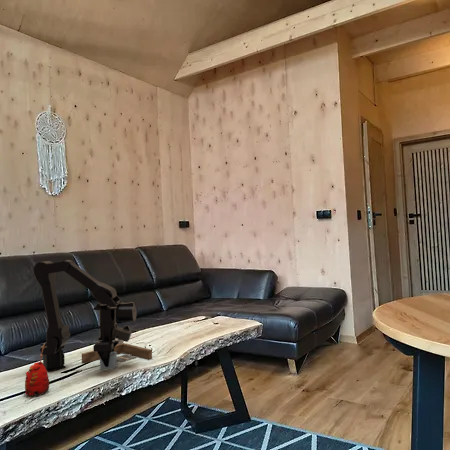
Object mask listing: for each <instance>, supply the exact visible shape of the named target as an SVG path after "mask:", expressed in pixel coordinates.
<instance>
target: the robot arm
mask: <svg viewBox="0 0 450 450" xmlns="http://www.w3.org/2000/svg"><path fill="white" fill-rule="evenodd" d="M32 271H33V275H34V278H35V280H36V281H37V283H38V284H39V286H40V288H41V293H42V299H43V304H44V309H45V313H46V319H47V325H48V326H47V329H46V338H45V339H46V342H45V343H46V344H45V343H44V344H45V346H44V347H45V348H44V349H43V352H42V347H40V348H39V352H40V355H41V354H42V355H43V357H42V363H43V365H44V366H45V368H46V370H47V373H48V372H53V371H57V370H60V369H64V368H67V367H66V365H65V364H66V363H65V353H64V350H63V349H64V348H65V346H66V344H67V343H68V342H69V341H70V336H71V335H72V333H70V326H69V324H64V322H63V321H62V316H61V311H60V305H59V301H58V295H57V290H56V289H57V288H56V281H57V280H56V279H57V273H59V272H64V273H66V275H67V274H68V275H69V276H70V277H71V278H73V279H74V280H76V281H77V283H79V284H80V285H82V286H83V287H85V288H86V289H87V290H88V291H89V293H91V295H92V296H93V298H94V299H95V300H96V301H97V304H96V305H95V306H94V308H92V309H93V311H98V313H99V314H98V315H99V316H98V321H99V322H98V323H99V325H98V326H97V328H98V330H99V336H98V339H97V340H98V341H96V343H94V345H93V348H92V349H93V350H92V351H97V352H98V354H99V356H100V358H101V360H102V361H103V363H104V365H105V367H108V366H109V360H110V353H111V352H114V349H115V346H116V345H117V344H118V343H119V341H115V339H116V338H117V339H118V340H123V341H124V343H125V342H126V343H129V340H130V339H131V336H132V333H133V331H132V330H131V327H130V326H129V325H124V327H120V326H118V325H119V324H118V323H117V321H116V320H118V322H136V319H137V312H138V311H137V308H136V305H135V302H134V301H130V302H123V301H122V299H121V298H120V296H118V295H117V289H116V288H115V287H113V286H111V285H109V284H106V283H104V282H101V281H99V280H97V279H96V278H94V276H92V275H90V274H89V273H88V272H87V271H86V270H84V269H83V268H81V267H80V266H79V265H77V264H76V263H75V262H74V261H73V260H72V259H67V260H66V259H64V260H62V261H58V262H57V261H56V262H53V261H51V260H47V261H39V262H37V263H36V264H35V265H34V267H33V268H32ZM46 346H47V347H46Z"/></svg>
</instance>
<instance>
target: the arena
mask: <svg viewBox="0 0 450 450" xmlns="http://www.w3.org/2000/svg"><path fill="white" fill-rule="evenodd" d="M114 352H117V362H119V361H120V363H123V362H127V361H129V360H134V359H137V358H141V359H144V360H147V361H150V360H152V359H153V350H152V348H151V349H150V348H145V347H141V346H137V345H134V344H130V343H127V342H126V343H125V342H123V343H122V344H118V345H116V346H115V349H114ZM120 353H121V354H122V355H120ZM125 353H126V354H125ZM129 354H130V355H129ZM118 355H119V356H118ZM132 355H133V356H132ZM126 360H127V361H126ZM95 361H100V356H99V354H98V352H97V351H94V350H91V351H86V352H82V353H81V363H82V364H87V363H91V362H95Z"/></svg>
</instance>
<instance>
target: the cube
mask: <svg viewBox="0 0 450 450" xmlns="http://www.w3.org/2000/svg"><path fill="white" fill-rule="evenodd" d="M117 357H118V354H117V352H111V353H110V360H109V366H108V367H105V365H104V363H103V361H102V360H101V358H100V359H99V370H100V369H107V370H115V369H116V367H117V366H116V365H118V361H117ZM114 368H115V369H114Z"/></svg>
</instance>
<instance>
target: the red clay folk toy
mask: <svg viewBox="0 0 450 450" xmlns="http://www.w3.org/2000/svg"><path fill="white" fill-rule="evenodd" d="M45 344H46V342H44V344H43V345H41V346H39V347H40V348H42V352H43V349H44V348H45V347H44V346H45ZM46 347H47V346H46ZM42 359H43V355H42V354H41V353H40V360H39V361H38V362H34V364H32V365H31V366H30V367H29V369H28V370H27V371H26V372H25V379H24V380H25V381H24V389H25V390H24V391H25V395H26V396H28V397H34V396H38V395H39V396H41V395H43V394H44V393H46V392H47V391H49V388H50V379H49V374H48V371H47V370H46V368H45V366H44V365H43V361H42Z"/></svg>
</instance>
